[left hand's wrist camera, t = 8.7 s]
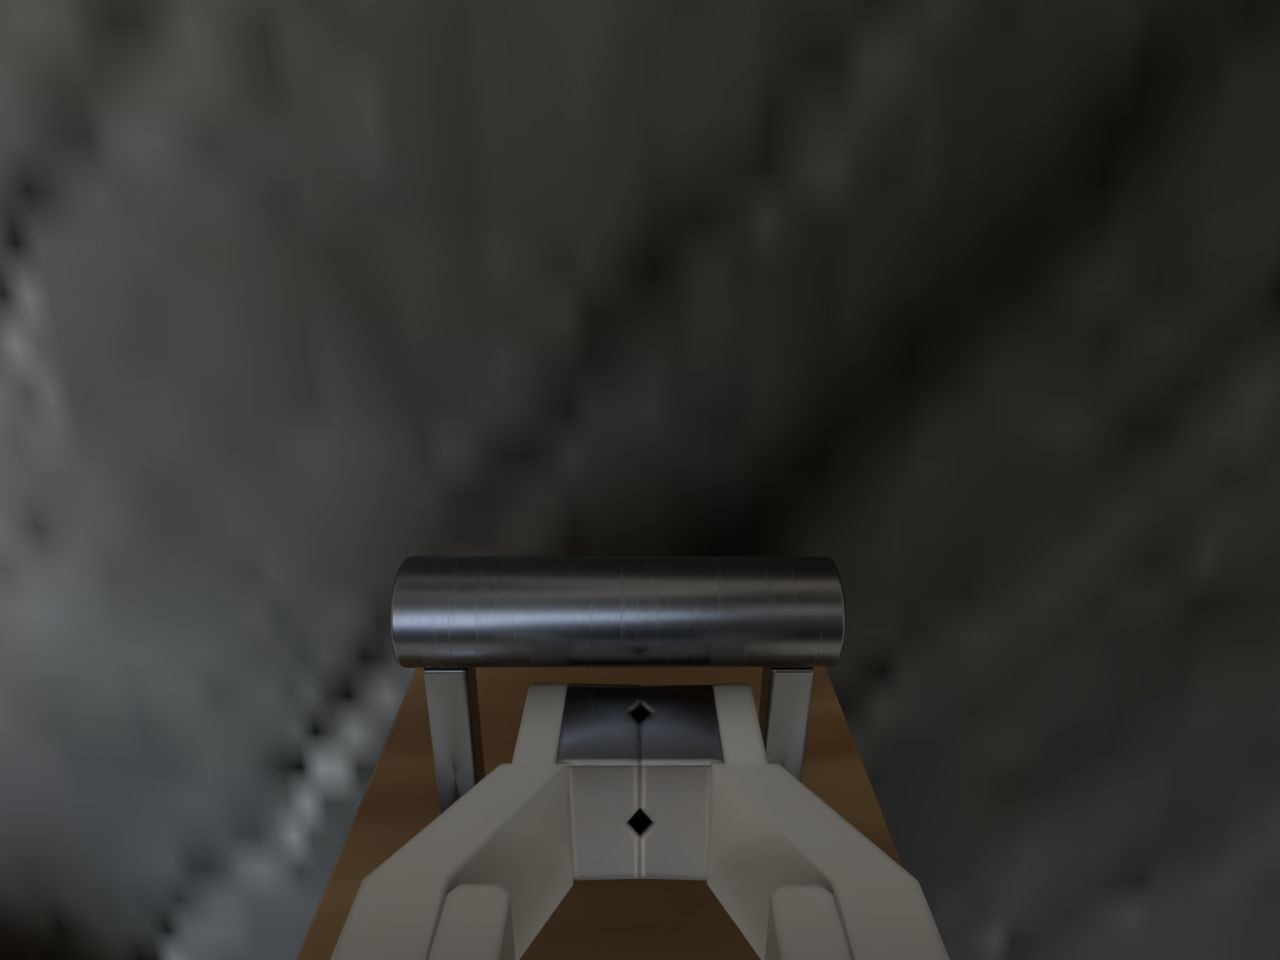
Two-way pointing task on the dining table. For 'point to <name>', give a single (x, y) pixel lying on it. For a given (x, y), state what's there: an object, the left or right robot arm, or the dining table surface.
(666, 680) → the drawer
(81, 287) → the dining table surface
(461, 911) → the left robot arm
